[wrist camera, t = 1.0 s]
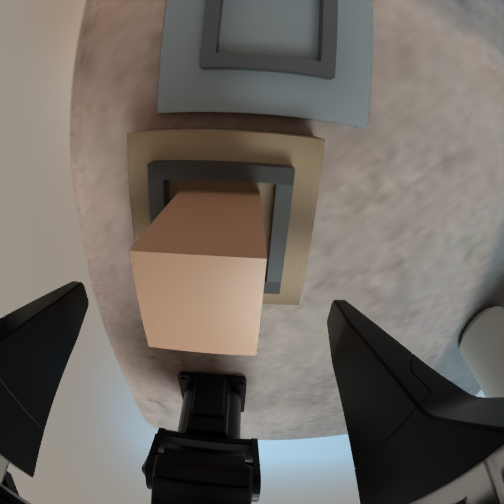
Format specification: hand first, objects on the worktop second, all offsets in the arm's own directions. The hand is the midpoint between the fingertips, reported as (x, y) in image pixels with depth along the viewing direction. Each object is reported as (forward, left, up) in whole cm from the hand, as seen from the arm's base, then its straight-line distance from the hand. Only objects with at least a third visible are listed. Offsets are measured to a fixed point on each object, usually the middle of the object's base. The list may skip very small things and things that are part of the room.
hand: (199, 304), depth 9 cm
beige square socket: (0, 0, -9) cm, 9 cm away
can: (-11, -29, -9) cm, 32 cm away
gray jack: (+12, -2, -9) cm, 15 cm away
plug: (0, 0, -7) cm, 7 cm away
